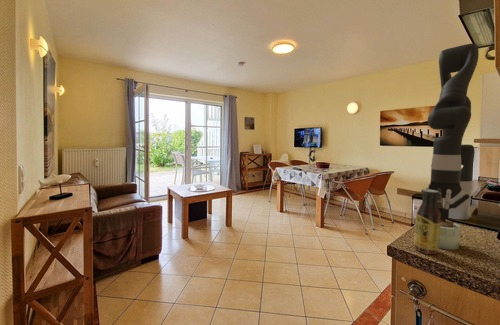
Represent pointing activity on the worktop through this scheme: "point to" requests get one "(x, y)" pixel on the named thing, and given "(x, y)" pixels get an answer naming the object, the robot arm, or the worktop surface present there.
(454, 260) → the worktop surface
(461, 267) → the worktop surface
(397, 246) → the worktop surface
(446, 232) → the jar
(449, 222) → the lid
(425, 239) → the sauce bottle
